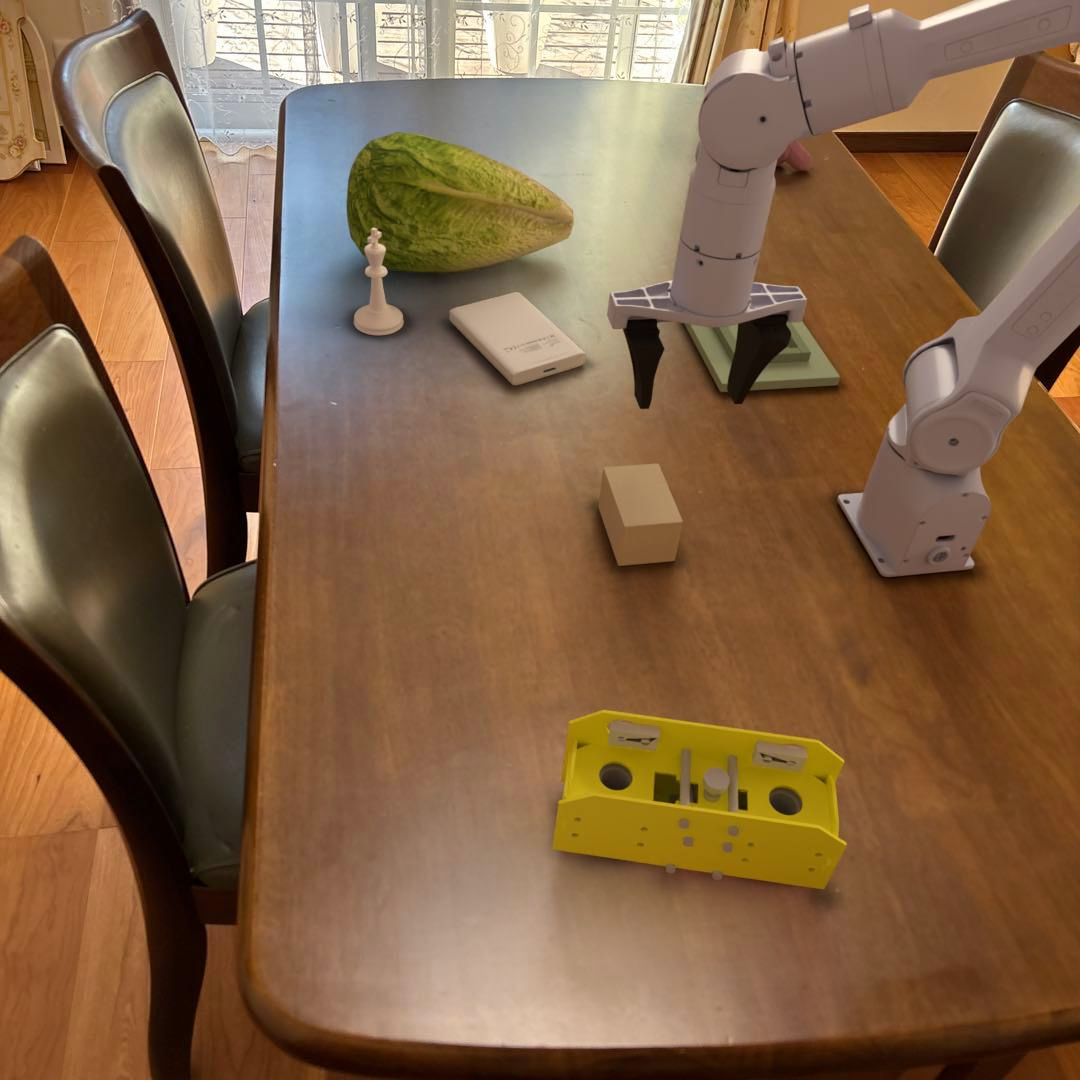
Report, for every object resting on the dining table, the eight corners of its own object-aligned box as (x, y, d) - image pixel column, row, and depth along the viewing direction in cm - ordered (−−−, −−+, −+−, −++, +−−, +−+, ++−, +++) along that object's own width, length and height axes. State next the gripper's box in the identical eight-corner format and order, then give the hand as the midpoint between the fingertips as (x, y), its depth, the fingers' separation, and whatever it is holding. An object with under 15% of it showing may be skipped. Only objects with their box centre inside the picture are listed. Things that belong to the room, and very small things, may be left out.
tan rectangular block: (675, 561, 80) (683, 521, 77) (618, 566, 79) (624, 526, 76) (651, 502, 85) (658, 463, 82) (597, 506, 84) (603, 467, 81)
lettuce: (576, 306, 108) (602, 173, 102) (343, 280, 103) (353, 138, 96) (551, 263, 121) (572, 143, 114) (342, 239, 115) (351, 110, 108)
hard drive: (518, 304, 106) (584, 365, 99) (449, 323, 103) (512, 387, 95) (519, 290, 105) (586, 350, 98) (449, 308, 102) (512, 372, 94)
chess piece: (343, 326, 101) (336, 232, 94) (372, 304, 104) (367, 212, 97) (385, 341, 100) (381, 246, 93) (413, 318, 103) (410, 225, 96)
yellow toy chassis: (814, 816, 64) (850, 737, 58) (820, 901, 60) (860, 825, 54) (561, 779, 65) (572, 698, 59) (550, 861, 61) (561, 782, 55)
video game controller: (745, 156, 141) (735, 113, 136) (773, 138, 141) (764, 94, 135) (786, 187, 135) (777, 142, 129) (815, 167, 135) (808, 123, 129)
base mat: (837, 385, 99) (843, 368, 98) (720, 392, 97) (724, 375, 95) (780, 299, 110) (784, 282, 109) (673, 304, 108) (676, 287, 107)
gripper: (798, 211, 75) (759, 366, 85) (607, 215, 73) (588, 374, 82) (834, 258, 70) (788, 417, 80) (630, 264, 68) (607, 427, 77)
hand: (688, 399), depth 81 cm, fingers open, 7 cm apart
